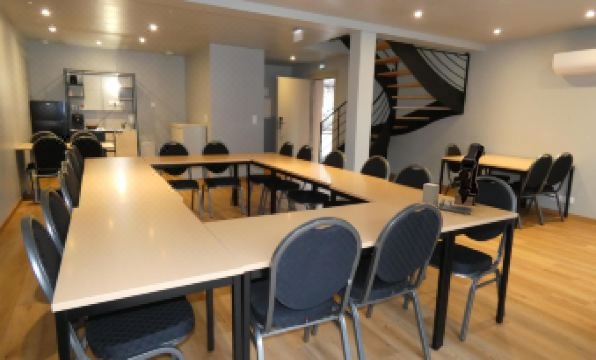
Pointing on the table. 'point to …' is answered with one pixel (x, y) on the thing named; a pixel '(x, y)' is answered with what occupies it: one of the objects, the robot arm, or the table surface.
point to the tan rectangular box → (466, 203)
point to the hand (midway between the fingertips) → (463, 202)
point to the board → (453, 207)
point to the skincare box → (431, 193)
